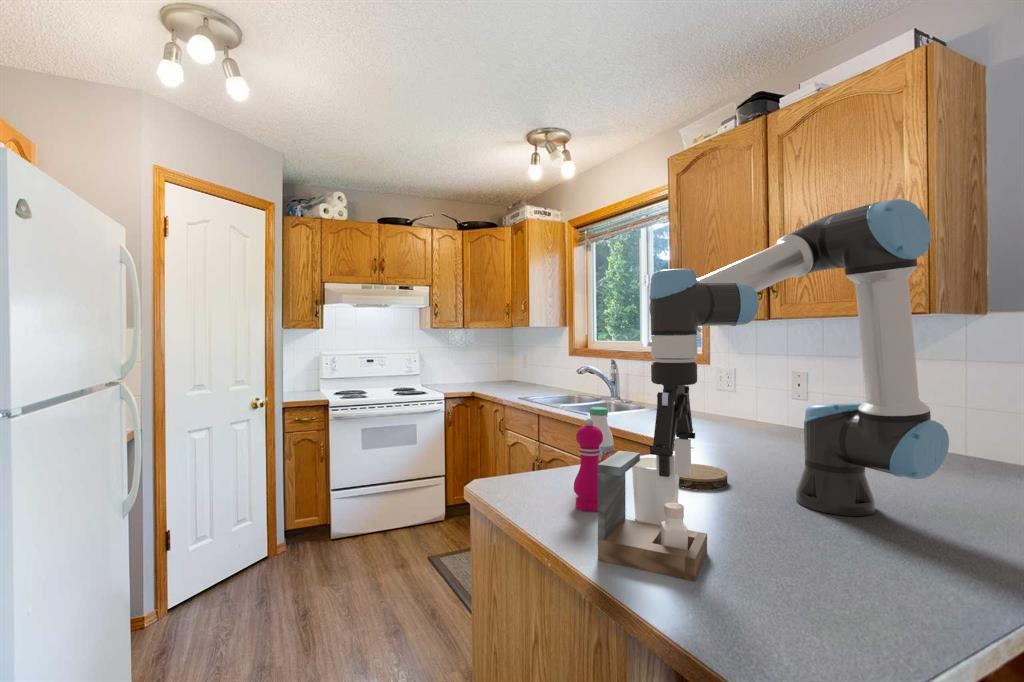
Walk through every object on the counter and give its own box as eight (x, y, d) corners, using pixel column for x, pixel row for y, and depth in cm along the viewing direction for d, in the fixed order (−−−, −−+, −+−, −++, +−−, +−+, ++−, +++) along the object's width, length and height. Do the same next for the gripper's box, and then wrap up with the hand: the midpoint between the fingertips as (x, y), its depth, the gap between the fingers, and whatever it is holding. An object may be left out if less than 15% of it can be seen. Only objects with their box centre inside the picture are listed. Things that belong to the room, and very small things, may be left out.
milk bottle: (580, 487, 130) (580, 409, 130) (587, 479, 137) (587, 405, 137) (610, 491, 127) (610, 410, 127) (616, 482, 134) (616, 406, 134)
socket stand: (707, 553, 91) (707, 460, 91) (695, 581, 81) (695, 476, 80) (619, 536, 99) (619, 450, 99) (597, 559, 88) (597, 464, 88)
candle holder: (673, 532, 101) (673, 471, 100) (625, 523, 106) (625, 465, 106) (685, 517, 109) (685, 461, 109) (640, 509, 114) (640, 455, 114)
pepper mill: (605, 513, 111) (605, 421, 111) (572, 511, 113) (572, 420, 113) (606, 502, 118) (606, 416, 118) (574, 501, 120) (574, 415, 120)
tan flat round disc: (663, 488, 131) (663, 476, 131) (663, 472, 146) (663, 461, 146) (731, 493, 126) (731, 481, 126) (724, 476, 141) (724, 465, 141)
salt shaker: (683, 556, 90) (683, 502, 90) (688, 566, 86) (688, 509, 86) (660, 555, 90) (660, 501, 90) (663, 565, 86) (663, 508, 86)
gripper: (667, 357, 100) (669, 465, 101) (631, 364, 79) (632, 502, 79) (708, 357, 97) (709, 469, 97) (681, 365, 75) (683, 510, 75)
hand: (675, 484), depth 88 cm, fingers open, 13 cm apart
